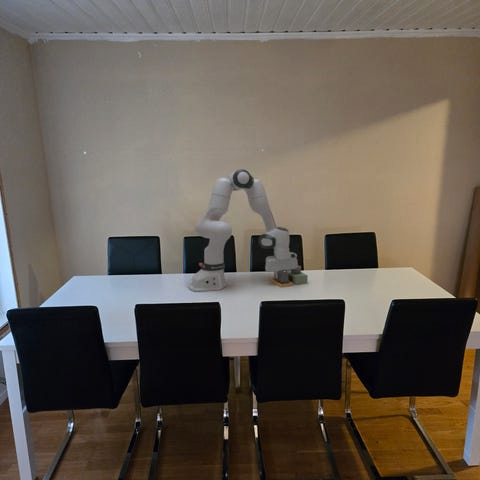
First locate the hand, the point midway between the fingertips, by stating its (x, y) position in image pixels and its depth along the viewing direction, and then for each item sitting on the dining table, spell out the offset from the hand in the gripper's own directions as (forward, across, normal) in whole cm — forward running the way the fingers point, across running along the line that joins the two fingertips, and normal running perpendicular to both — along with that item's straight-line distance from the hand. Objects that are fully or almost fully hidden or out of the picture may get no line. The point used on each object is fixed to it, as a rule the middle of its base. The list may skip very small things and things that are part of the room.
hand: (281, 277), depth 228 cm
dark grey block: (+2, 0, 0) cm, 2 cm away
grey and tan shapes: (+4, +4, 0) cm, 5 cm away
